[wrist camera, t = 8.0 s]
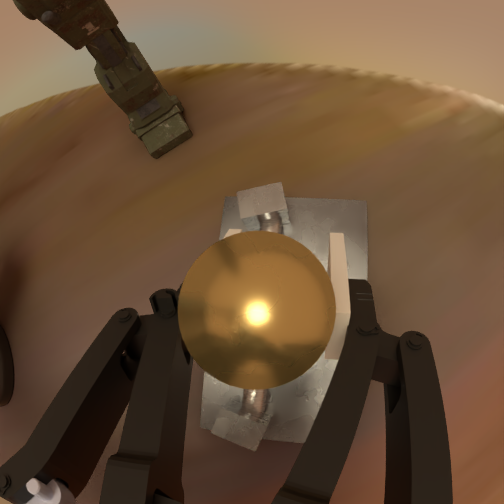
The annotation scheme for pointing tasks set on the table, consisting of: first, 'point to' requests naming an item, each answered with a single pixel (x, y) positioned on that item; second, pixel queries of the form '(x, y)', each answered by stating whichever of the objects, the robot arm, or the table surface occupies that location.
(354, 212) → the bed plate
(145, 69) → the mechanical leg
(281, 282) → the orange glossy cylinder
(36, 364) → the table surface
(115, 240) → the table surface
